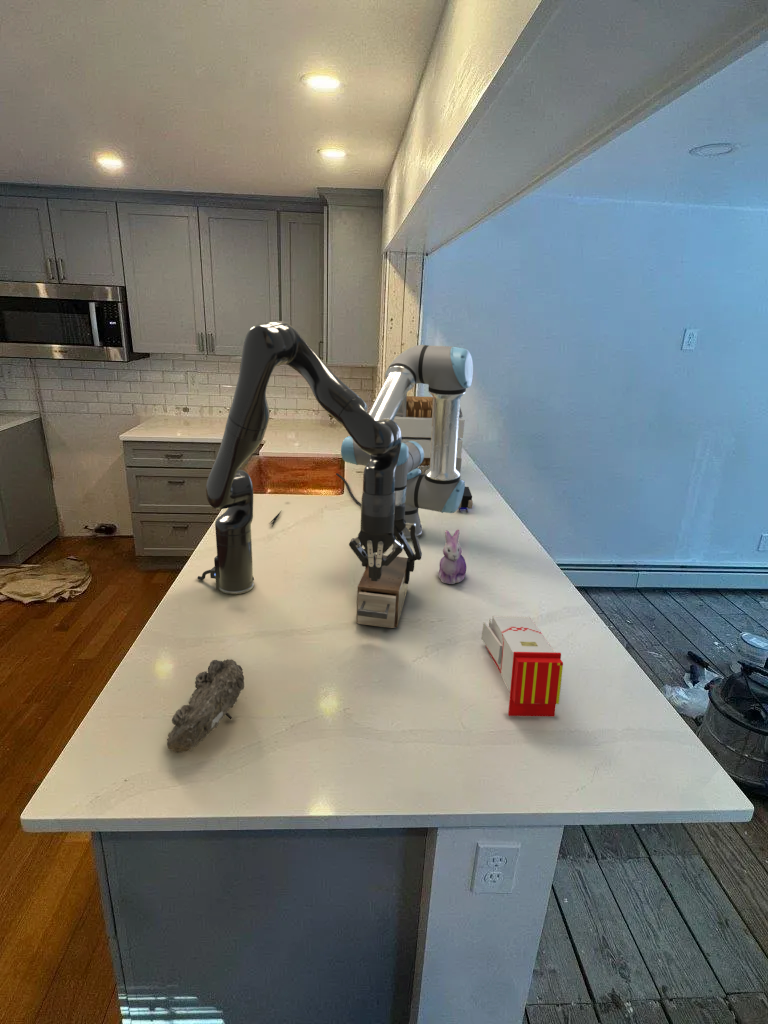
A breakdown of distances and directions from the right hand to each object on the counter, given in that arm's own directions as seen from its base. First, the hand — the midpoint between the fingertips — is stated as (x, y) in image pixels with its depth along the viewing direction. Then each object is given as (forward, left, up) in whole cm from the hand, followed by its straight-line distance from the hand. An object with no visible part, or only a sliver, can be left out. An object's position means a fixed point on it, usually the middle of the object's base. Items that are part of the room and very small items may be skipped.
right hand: (387, 579), depth 154 cm
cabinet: (+3, -4, -5) cm, 7 cm away
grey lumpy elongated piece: (+16, -58, -5) cm, 61 cm away
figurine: (+3, +23, -5) cm, 24 cm away
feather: (-72, +9, -5) cm, 73 cm away
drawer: (+7, -8, -4) cm, 12 cm away
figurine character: (-38, +73, -5) cm, 83 cm away
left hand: (+13, -16, +10) cm, 22 cm away
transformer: (-85, +95, -5) cm, 127 cm away
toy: (+44, -1, -5) cm, 44 cm away
